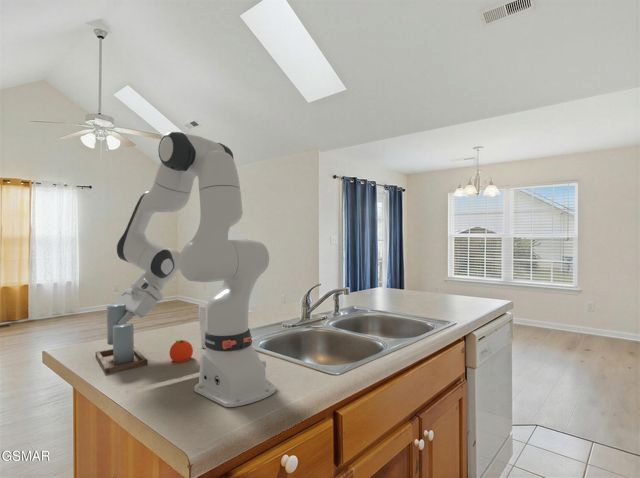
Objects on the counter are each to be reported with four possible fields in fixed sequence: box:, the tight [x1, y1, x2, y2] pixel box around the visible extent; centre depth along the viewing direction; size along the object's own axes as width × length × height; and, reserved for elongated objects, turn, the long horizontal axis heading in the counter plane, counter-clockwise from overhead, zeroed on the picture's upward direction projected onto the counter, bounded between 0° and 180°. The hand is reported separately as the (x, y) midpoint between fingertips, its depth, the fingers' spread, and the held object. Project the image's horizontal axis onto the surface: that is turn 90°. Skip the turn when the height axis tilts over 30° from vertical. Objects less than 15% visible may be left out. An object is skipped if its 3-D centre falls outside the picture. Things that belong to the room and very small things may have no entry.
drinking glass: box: [198, 303, 208, 349], centre depth 130 cm, size 7×7×15 cm
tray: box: [95, 346, 148, 375], centre depth 114 cm, size 19×11×2 cm, turn 39°
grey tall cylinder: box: [112, 322, 135, 366], centre depth 110 cm, size 6×6×12 cm
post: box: [106, 303, 128, 346], centre depth 117 cm, size 6×6×12 cm
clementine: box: [169, 339, 194, 363], centre depth 114 cm, size 8×7×7 cm
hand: (114, 323), depth 116 cm, fingers closed on post, 5 cm apart
